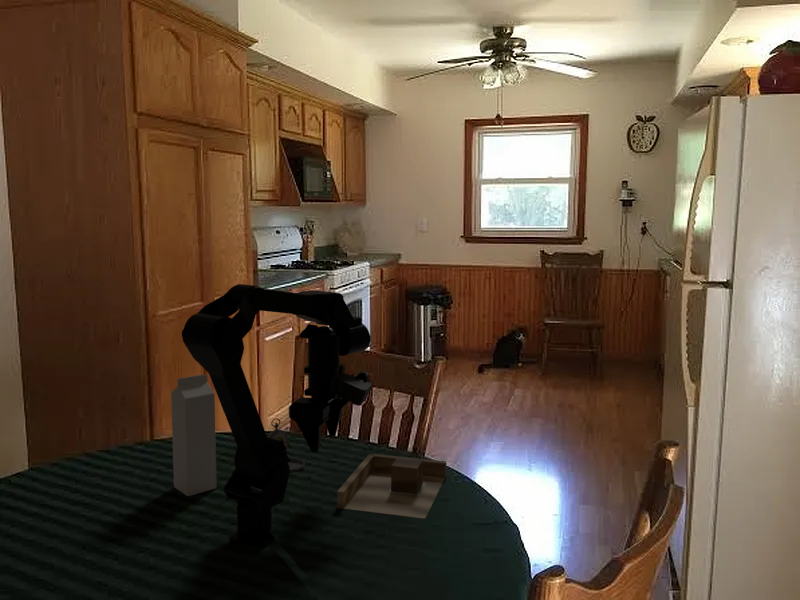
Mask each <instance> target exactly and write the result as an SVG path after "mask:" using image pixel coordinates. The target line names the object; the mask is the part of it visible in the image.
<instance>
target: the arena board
mask: <svg viewBox="0 0 800 600" xmlns="http://www.w3.org/2000/svg"><path fill="white" fill-rule="evenodd" d="M397 457H400V456H397V455H396V456H395V455H388V454H377V453H369V454H368V455H367V456H366V458H364V459H363V461H361V463H360V464H359V465H358V466H357V468H356V469H355V470H354V471H353V472H352V473H351V474H350V476H349V477H348V478H347V480H345V481H344V483H343V484H342V485H341V487H339V489H338V490H337V491H336V492H337V493H336V494H337V495H336V500H337V501H336V508H337V509H345V510H352V511H361V512H368V513H376V514H384V515H390V516H391V515H392V516H400V517H408V518H417V519H423V520H425V519H426V518H427V516H428V513H429V511H430V510H431V508H432V505H433V503H434V502H435V499H436V498H437V496H438V493H439V491H440V490H441V487H442V485H443V483H444V481H445V479H446V476H447V461H445V460H437V459H428V458H426V459H425V458H422V459H423V484H422V486H421V488H420V490H419V491H418V493H417V494H411V493H402V492H393V491H391V466H392V464H393V463H394V461H395V460H396V459H397ZM405 457H406V458H410V456H409V457H407V456H405ZM415 458H416V457H415ZM416 459H419V457H418V458H416Z"/></svg>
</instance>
